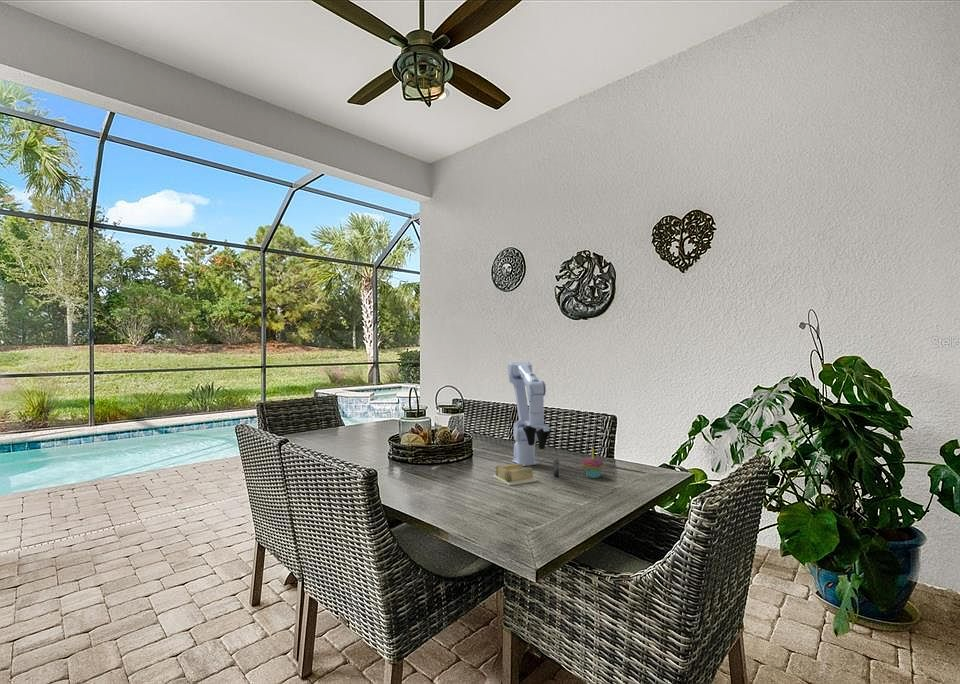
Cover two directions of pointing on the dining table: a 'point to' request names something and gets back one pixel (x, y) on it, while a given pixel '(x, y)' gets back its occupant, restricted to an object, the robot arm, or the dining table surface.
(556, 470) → the post
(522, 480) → the coaster
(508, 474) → the c link
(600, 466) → the cupcake
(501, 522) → the dining table surface
